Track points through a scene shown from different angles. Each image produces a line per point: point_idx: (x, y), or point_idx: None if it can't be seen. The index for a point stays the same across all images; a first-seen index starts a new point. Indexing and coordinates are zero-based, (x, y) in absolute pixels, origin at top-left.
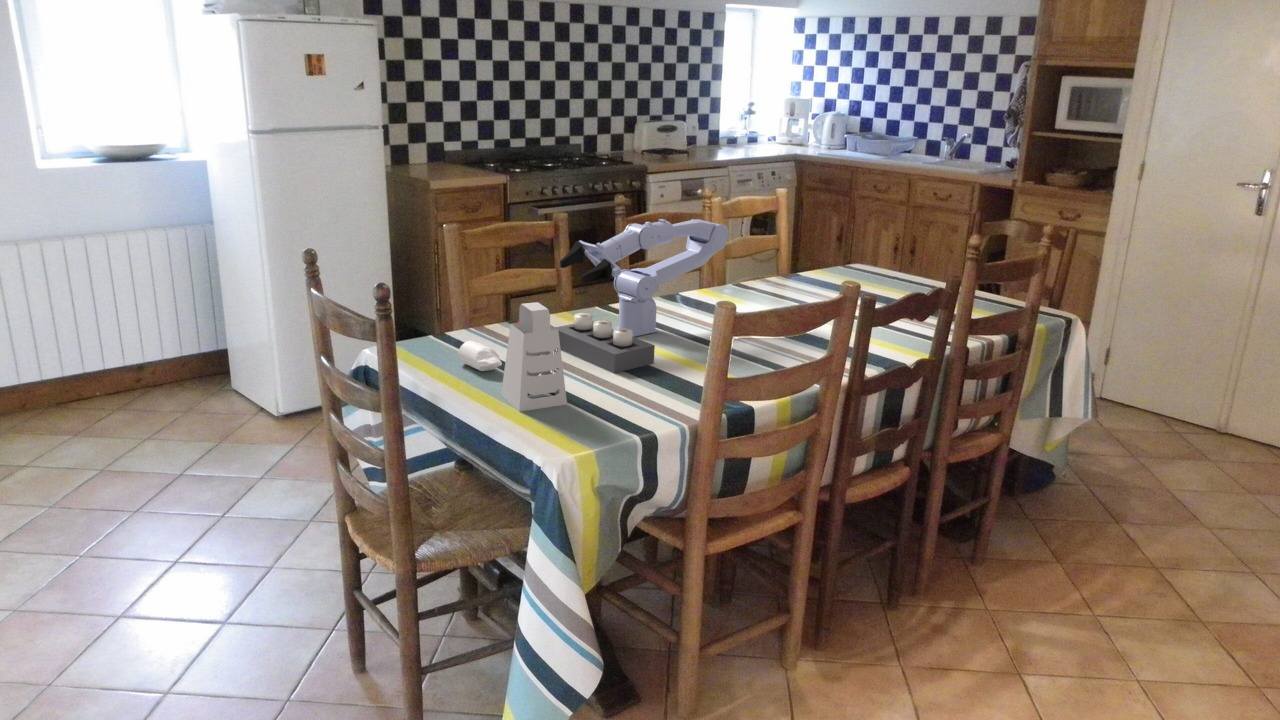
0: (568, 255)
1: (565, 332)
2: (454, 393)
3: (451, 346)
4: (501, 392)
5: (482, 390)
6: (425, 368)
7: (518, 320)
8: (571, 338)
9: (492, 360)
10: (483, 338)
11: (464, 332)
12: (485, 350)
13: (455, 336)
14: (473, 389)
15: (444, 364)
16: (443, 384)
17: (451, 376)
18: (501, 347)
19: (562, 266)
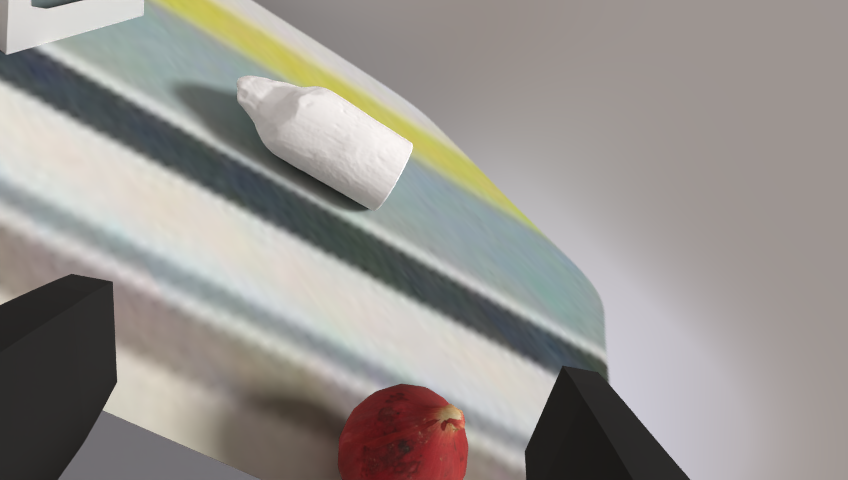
0: (649, 473)
1: (151, 447)
2: (259, 22)
3: (513, 306)
4: (142, 10)
5: (208, 36)
6: (425, 144)
7: (448, 403)
8: None
9: (264, 80)
10: (519, 429)
11: None
12: (313, 89)
13: None
14: (234, 41)
15: (415, 175)
16: (319, 65)
17: None
18: (405, 368)
19: (535, 439)
